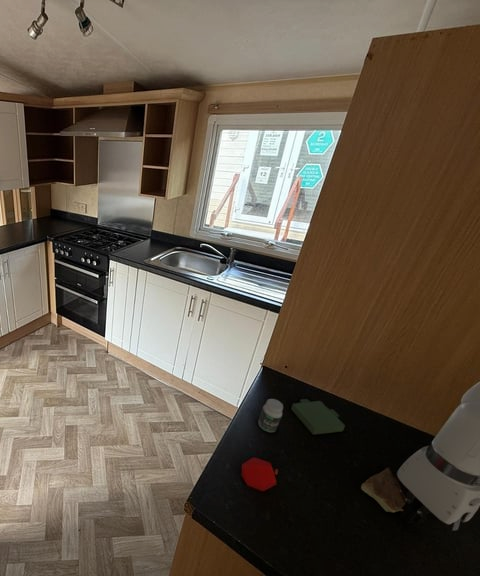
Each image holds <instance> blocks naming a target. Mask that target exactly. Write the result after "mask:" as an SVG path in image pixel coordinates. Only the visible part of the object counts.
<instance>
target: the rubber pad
mask: <svg viewBox="0 0 480 576" xmlns="http://www.w3.org/2000/svg"><path fill="white" fill-rule="evenodd" d="M290 410H291V411H292V412H293V413H294V414H295V416H296V417H297V418H298V419H299V420H300V422H302V424H303V425H304V427H306V428H307V430H308V431H309V432H310V433H311V434H312V435H322V434H331V433H339V432H340V433H341V432H343V431H344V430H345V427H346V425H345V424H344V423H343V422H342V421H341V419H339V417H340V414H339V413H337V412H336V410H334V409H333V408H332V409H331V408H330V409H329V408H328V407H327V406H326V405H325V404H324V402H322V401H321V400H315V401H310V400H309V399H308V398H302V399H299V401H298V402H297V403H292V404H291V407H290Z"/></svg>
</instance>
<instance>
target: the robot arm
mask: <svg viewBox="0 0 480 576" xmlns="http://www.w3.org/2000/svg"><path fill="white" fill-rule="evenodd" d="M395 478H396V480H397V482H398V483H399V484H400V485H401V486H402V487H403V488H402V489H403V490H404V493H405V494H404V495H405V500H406V504H405V505H404V506H403V507H402V509H403V511H401V513H400V514H399V516H400V517H401V518H402V519H404V521H405V523H407V524H416V525H421V524H423V523H424V522H425V521H426V520H427V519H430V520H434V521H438V523H439V524H440V525H442V526H443V527H444V528H445V529H447V530H448V531H450V532H455V531H458V530H459V527H460V525H461V524H460V523H461V522H462V523H467V522H468V521H470V520H471V519H472V518H473V517H474V515H475V514H476V513H477V511H478V510H479V508H480V381H478V382H477V383H475V384H474V385H472V386H471V387H470V388H469V389H467V391H465V393H463V395H462V397H461V398H460V404H459V405H458V406H457V407H456V408H455V409H454V411H453V412H452V414H450V416H449V418H448V419H447V420H446V421H445V423H444V424H443V426H442V427H441V428H440V430H439V431H438V433H437V434H436V435H435V437H434V438H433V440H432V441H431V442H430V443H429V445H427V446H423V447H422V448H420V449H418V450H417V451H416V452H413V454H412V455H410V456H409V457H408V458H407V459H406V460H405V461H404V462H403V463H402V465H401V466H400V467H399V469H398V470H397V472H396V474H395Z"/></svg>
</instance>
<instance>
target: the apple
mask: <svg viewBox="0 0 480 576" xmlns="http://www.w3.org/2000/svg"><path fill="white" fill-rule="evenodd" d="M278 472H279V469H278V468H275V469H273V466H272V463H271V462H270V461H266V460H263V459H260V458H258V457H252V458H250V459H248V460H247V461H245V462H243V463H241V473H240V475H241V477H242V479H243V481H244V482H245V484H246V486H248V487H251V488H253V489H256V490H258V491H260V492H265V491H267V490H268V489H271V488H272V487H275V486H276V485H277V478H276V475H278Z"/></svg>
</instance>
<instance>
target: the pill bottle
mask: <svg viewBox="0 0 480 576" xmlns="http://www.w3.org/2000/svg"><path fill="white" fill-rule="evenodd" d="M283 410H284V405H283V403H282V402H281V401H279V400H278V399H276V398H269V399H267V400H266V402H265V403H264V405H263V406H262V410H261V412H260V415H259V417H258V426H259V428H261V429H262V430H263V431H266V432H267V433H275V432H276V431H277V429H278V427H279V425H280V422H281V420H282V417H283Z"/></svg>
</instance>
